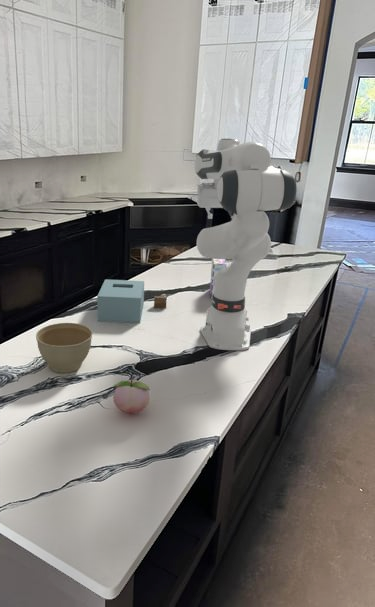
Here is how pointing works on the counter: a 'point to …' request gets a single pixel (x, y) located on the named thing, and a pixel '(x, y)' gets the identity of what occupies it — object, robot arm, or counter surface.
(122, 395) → the decorative fruit
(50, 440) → the counter surface
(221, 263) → the candy box
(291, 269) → the counter surface
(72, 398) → the counter surface
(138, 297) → the box
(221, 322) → the robot arm
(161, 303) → the brown rectangular block
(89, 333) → the planter bowl
